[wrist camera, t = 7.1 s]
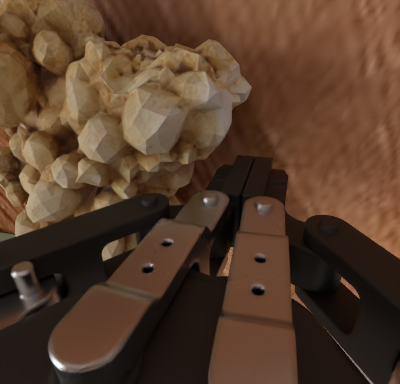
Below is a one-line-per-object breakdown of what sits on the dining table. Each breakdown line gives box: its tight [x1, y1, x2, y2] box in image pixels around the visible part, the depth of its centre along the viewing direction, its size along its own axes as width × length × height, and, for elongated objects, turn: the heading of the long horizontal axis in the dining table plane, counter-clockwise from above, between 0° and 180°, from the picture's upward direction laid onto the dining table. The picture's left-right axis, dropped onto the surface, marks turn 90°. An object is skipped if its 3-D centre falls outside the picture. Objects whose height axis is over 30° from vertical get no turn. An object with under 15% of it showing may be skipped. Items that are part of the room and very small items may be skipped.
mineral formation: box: [0, 0, 252, 261], centre depth 16 cm, size 8×13×15 cm
